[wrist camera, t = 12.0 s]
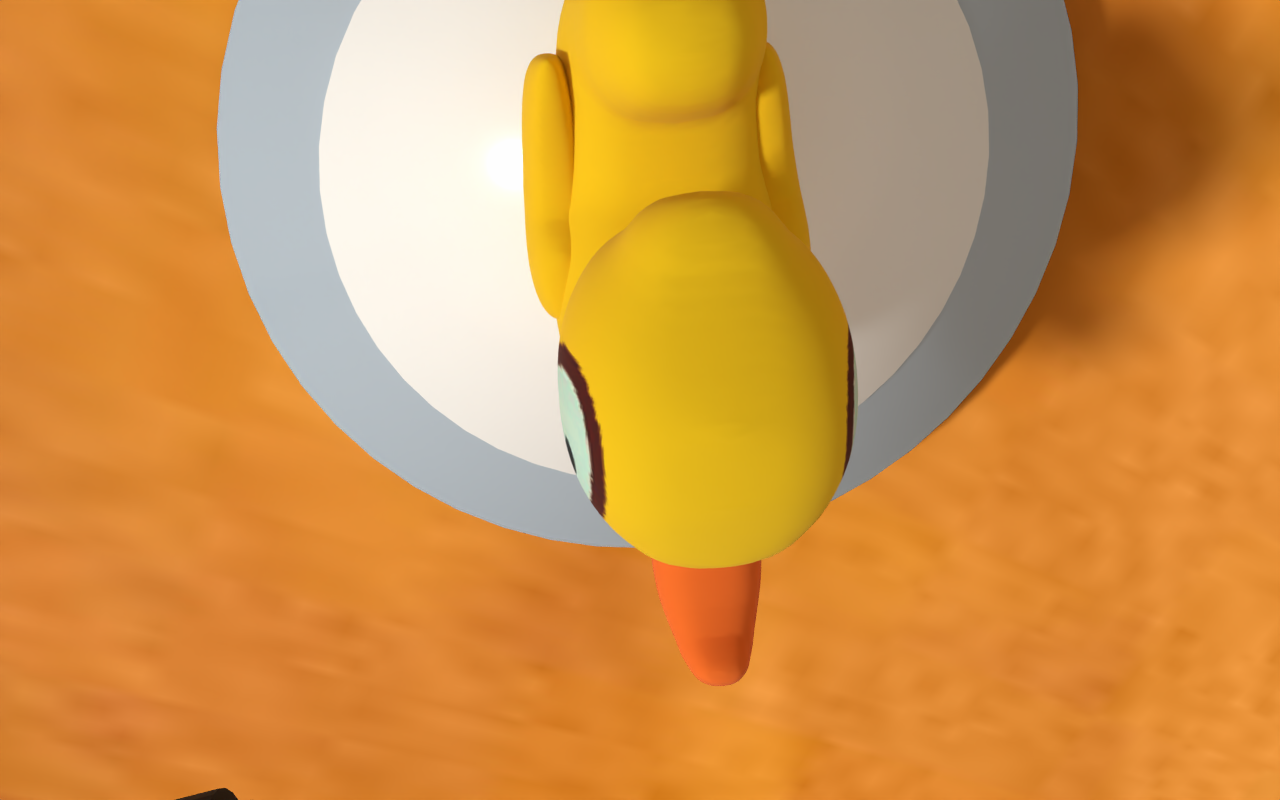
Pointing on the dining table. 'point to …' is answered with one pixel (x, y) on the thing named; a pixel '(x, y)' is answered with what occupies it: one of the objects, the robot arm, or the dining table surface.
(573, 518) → the plate
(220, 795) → the robot arm
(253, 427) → the dining table surface
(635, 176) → the duckling
